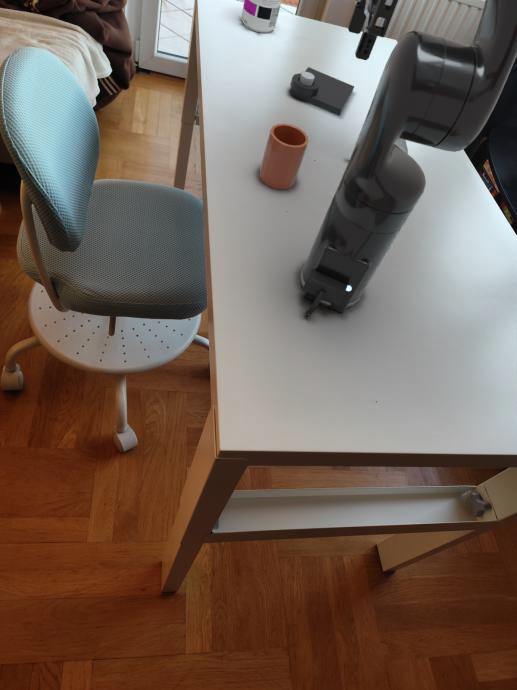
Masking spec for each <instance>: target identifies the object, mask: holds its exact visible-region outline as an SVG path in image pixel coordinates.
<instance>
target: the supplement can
mask: <svg viewBox="0 0 517 690" xmlns="http://www.w3.org/2000/svg"><path fill="white" fill-rule="evenodd" d="M281 5H282V0H244V1H243V6H242V12H241V21H242V22H243V25H244V26H245V27H246V28H248V29H249V30H251V31H253V32H256V33H262V34H266V33H267V34H268V33H271V32H272V31H274V30H275V29H276V25H277V21H278V17H279V12H280V9H281Z"/></svg>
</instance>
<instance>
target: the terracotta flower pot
mask: <svg viewBox="0 0 517 690" xmlns="http://www.w3.org/2000/svg"><path fill="white" fill-rule="evenodd" d="M267 137H268V138H267V141H266V145H265V148H264V153H263V156H262V160H261V164H260V166H259V167H260V168H259V172H258V175H259V178H260V180H261V181H262V182H263V183H264V184H265V185H266V186H268V187H270V188H272V189H276V190H288V189H291V188H292V187H293V186H294V184H295V182H296V180H297V177H298V174H299V171H300V169H301V165H302V162H303V159H304V157H305V154H306V150H307V147H308V145H309V141H310V140H309V136H308V135H307V134H306V132H305V131H304V130H302V129H301V128H300V127H298V126H295V125H292V124H290V123H277V124H274V125H272V126H271V128H270V129H269V133H268V136H267Z"/></svg>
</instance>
